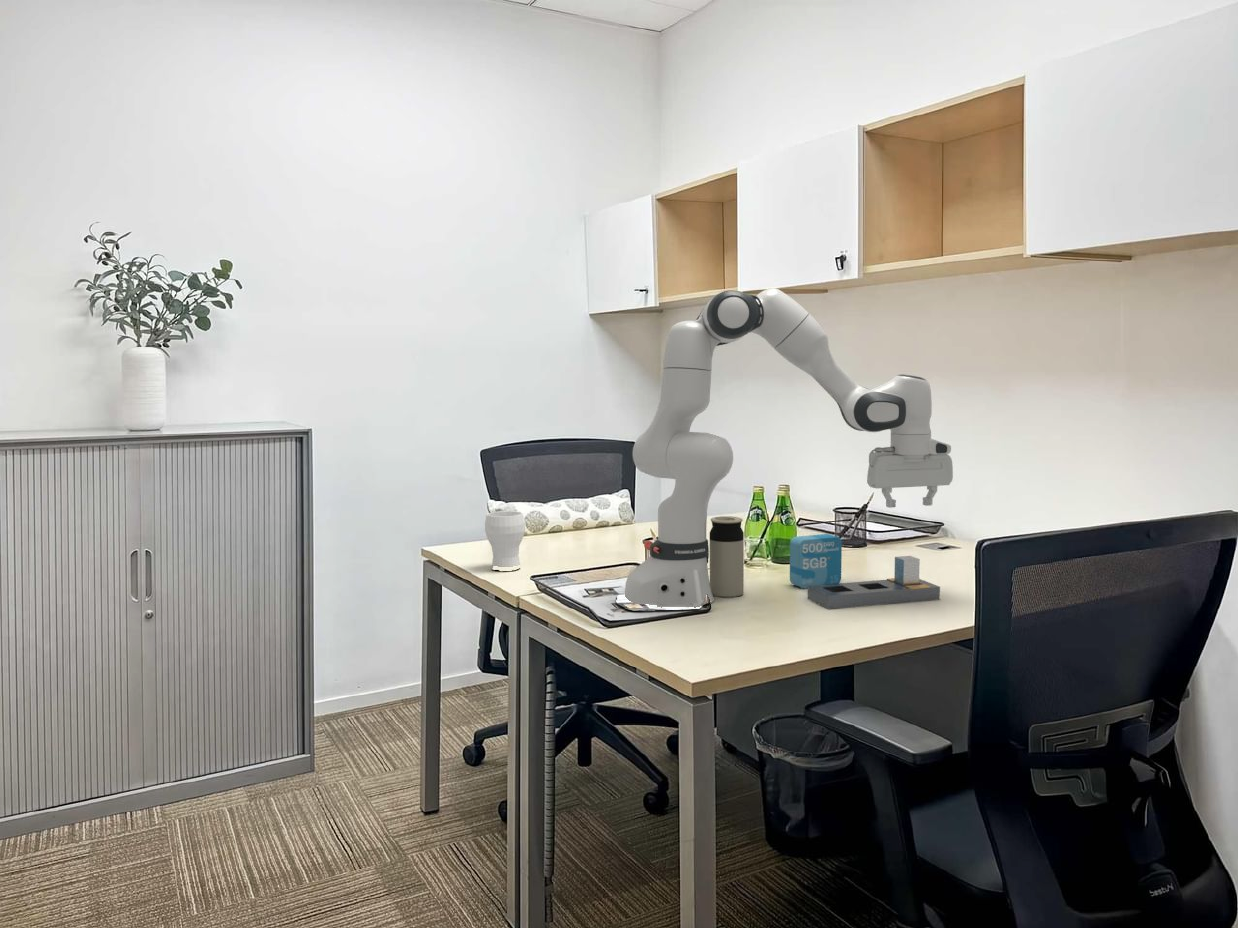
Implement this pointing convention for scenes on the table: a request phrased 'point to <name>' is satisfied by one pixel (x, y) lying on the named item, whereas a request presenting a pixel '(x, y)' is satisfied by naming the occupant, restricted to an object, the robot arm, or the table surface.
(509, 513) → the cup
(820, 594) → the hole rail
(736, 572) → the travel mug
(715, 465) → the robot arm
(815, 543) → the data package
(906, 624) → the table surface
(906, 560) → the steel peg
